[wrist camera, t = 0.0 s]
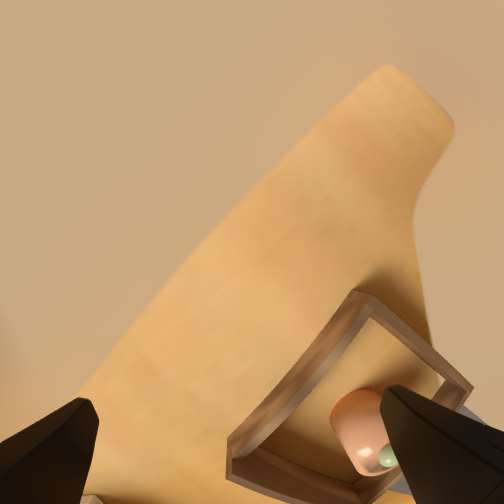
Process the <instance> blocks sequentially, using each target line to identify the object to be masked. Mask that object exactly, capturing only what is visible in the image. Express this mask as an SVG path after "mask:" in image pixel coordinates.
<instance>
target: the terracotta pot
mask: <svg viewBox="0 0 504 504" xmlns="http://www.w3.org/2000/svg"><path fill="white" fill-rule="evenodd" d="M381 400H382V397H381V396H379V395H378V394H377V393H376V392H375V391H373V390H369V389H360V390H356V391H353V392H351V393H349V394H347V395H346V396H344V397H343V398H342V399H341V400H340V401H339V402H338V403H337V404H336V405H335V407H334V408H333V410H332V413H331V416H330V424H331V427H332V429H333V430H334V432H335V434H336V436H337V437H338V439H339V441H340V442H341V444H342V446H343V448H344V449H345V451H346V453H347V454H348V456H349V458H350V460H351V461H352V463H353V465H354V466H355V468H356V470H357V471H358V472H359V473H360V474H362V475H365V476H377V475H380V474H383V473H386V472H388V471H390V470H392V469H393V468H395V467H396V466H398V465H399V464H398V461H397V459H396V457H395V455H394V452H393V450H392V447H391V445H390V441H389V438H388V435H387V432H386V429H385V426H384V423H383V420H382V417H381V414H380V403H381Z"/></svg>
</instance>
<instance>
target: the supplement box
mask: <svg viewBox="0 0 504 504" xmlns="http://www.w3.org/2000/svg"><path fill="white" fill-rule="evenodd" d="M80 504H104V503H103V502H102V501H101V500H100V499H99V498H98V497H97V496H96V495H85V496H82V498H81V502H80Z"/></svg>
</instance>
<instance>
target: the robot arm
mask: <svg viewBox="0 0 504 504" xmlns="http://www.w3.org/2000/svg"><path fill="white" fill-rule="evenodd" d="M380 414H381V417H382V420H383V423H384V426H385V429H386V432H387V435H388V438H389V441H390V445H391V447H392V450H393V452H394V455H395V457H396V459H397V461H398V464H399V466H400V468H401V470H402V472H403V475H404V477H405V479H406V481H407V484H408V486H409V488H410V491H411V493H412V495H413V498H414V500H415V502H416V504H504V432H503V431H501V430H498V429H495V428H493V427H490V426H488V425H484V424H483V423H481V422H478V421H476V420H474V419H472V418H469V417H467V416H465V415H462V414H460V413H458V412H456V411H454V410H451V409H449V408H447V407H445V406H443V405H440V404H438V403H436V402H434V401H432V400H430V399H428V398H426V397H423V396H421V395H419V394H417V393H415V392H413V391H411V390H409V389H407V388H405V387H403V386H401V385H398V384H396V385H392V386H388V387H386V388H385V390H384V393H383V396H382V400H381V403H380ZM98 426H99V418H98V415H97V413H96V411H95V409H94V407H93V404H92V402H91V401H90V400H89V399H86V398H80V397H78V398H76V399H74V400H73V401H71V402H69V403H68V404H66V405H64V406H63V407H61V408H59V409H58V410H56V411H54V412H53V413H51V414H49V415H47V416H46V417H44V418H43V419H41V420H39V421H37V422H36V423H34V424H32V425H31V426H29V427H27V428H25V429H23V430H22V431H20V432H18V433H17V434H15V435H13V436H11V437H9V438H8V439H6V440H4V441H2V442H1V443H0V504H80V502H81V498H82V494H83V490H84V487H85V483H86V479H87V476H88V472H89V469H90V465H91V462H92V457H93V452H94V447H95V441H96V436H97V431H98Z"/></svg>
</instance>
